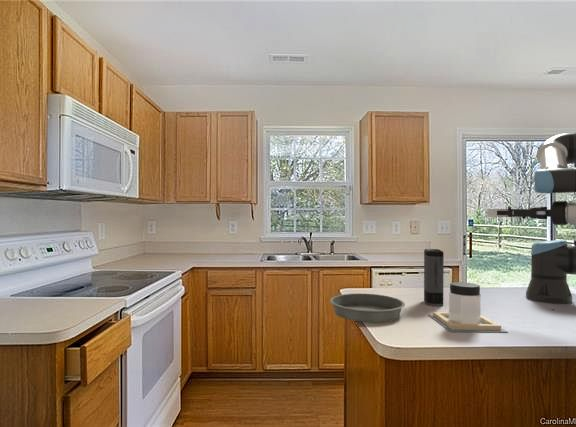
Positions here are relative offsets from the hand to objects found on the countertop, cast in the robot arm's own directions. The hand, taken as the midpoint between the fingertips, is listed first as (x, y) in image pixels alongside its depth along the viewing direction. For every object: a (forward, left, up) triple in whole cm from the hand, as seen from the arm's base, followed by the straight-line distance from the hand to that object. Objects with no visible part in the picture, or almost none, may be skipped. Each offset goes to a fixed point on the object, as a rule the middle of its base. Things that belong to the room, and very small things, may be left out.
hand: (494, 212), depth 135 cm
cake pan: (+46, +6, -34) cm, 58 cm away
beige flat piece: (+18, +17, -34) cm, 42 cm away
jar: (+19, +20, -34) cm, 43 cm away
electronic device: (+18, -10, -34) cm, 40 cm away
